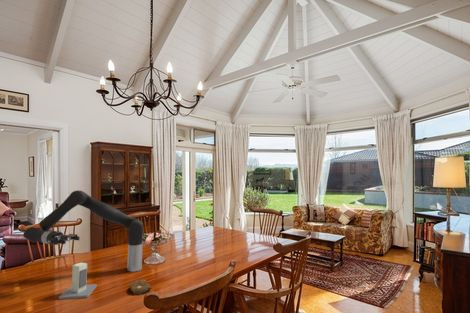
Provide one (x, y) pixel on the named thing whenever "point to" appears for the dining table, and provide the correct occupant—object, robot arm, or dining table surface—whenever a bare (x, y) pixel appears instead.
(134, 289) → the decorative rock
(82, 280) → the off-white rectangular block
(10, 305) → the dining table surface
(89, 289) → the slate tile
